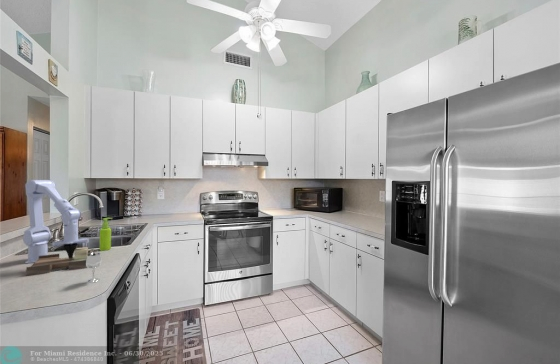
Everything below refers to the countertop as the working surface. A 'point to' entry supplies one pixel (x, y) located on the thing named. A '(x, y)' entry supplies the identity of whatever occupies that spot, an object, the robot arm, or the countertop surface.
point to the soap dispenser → (105, 236)
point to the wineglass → (93, 264)
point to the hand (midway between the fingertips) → (70, 257)
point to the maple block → (80, 253)
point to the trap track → (55, 264)
